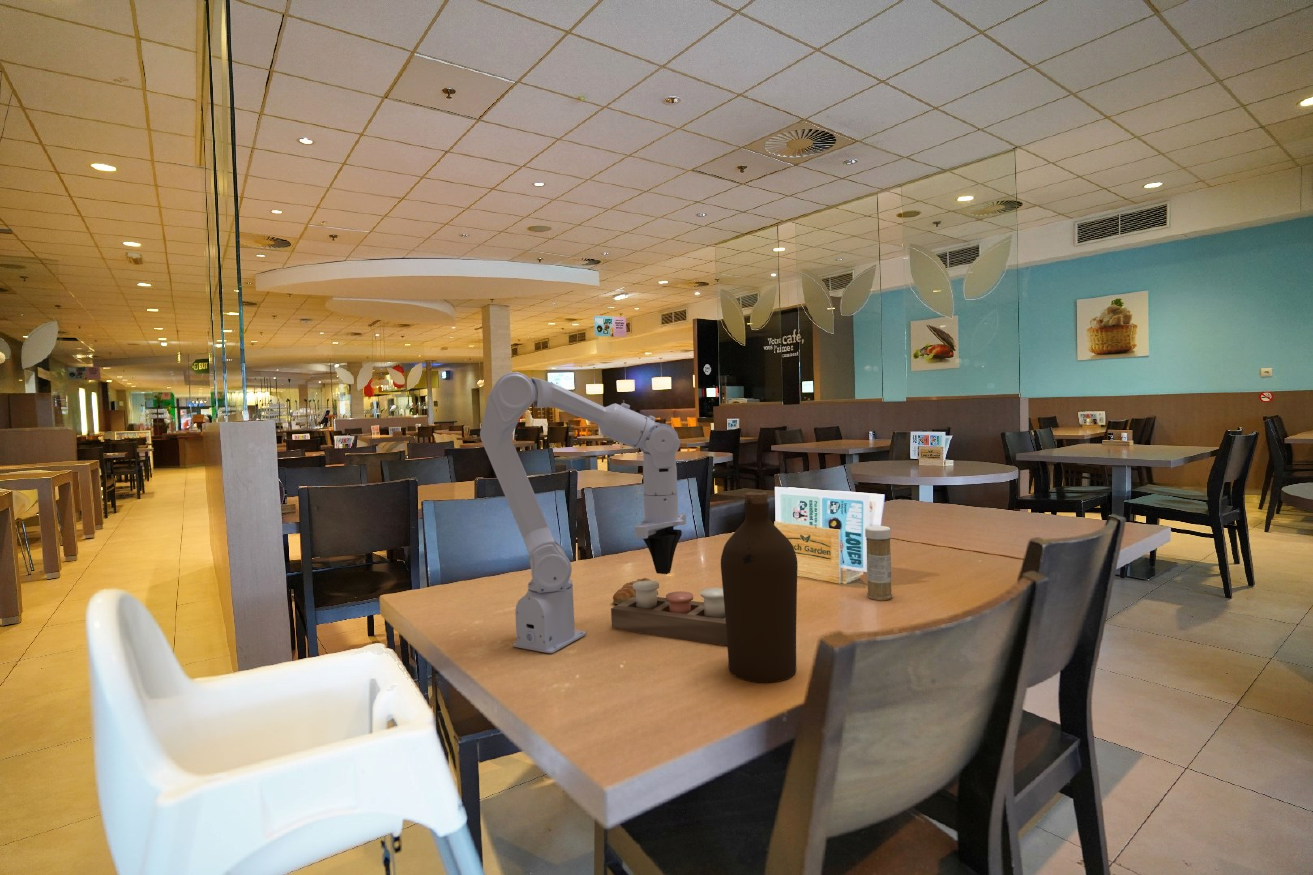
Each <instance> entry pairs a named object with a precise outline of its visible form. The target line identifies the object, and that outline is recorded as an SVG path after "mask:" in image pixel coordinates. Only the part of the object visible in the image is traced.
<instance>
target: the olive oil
mask: <svg viewBox="0 0 1313 875" xmlns="http://www.w3.org/2000/svg"><path fill="white" fill-rule="evenodd" d="M744 498H745V502H744V504H743V505H744V521H743V522H742V523H741V525H740V526H738V528H736V530H735V531H734V533H733V534H732V535H731V536H730V537H729V538H728V539H727V541H726V542H725V544H724V545H723V549H722V553H721V556H720V573H721V582H722V584H721V585H722V588H723V596H724V608H725V620H726V632H727V657H728V658H727V660H728V668H729V669H728V670H729V672H730V673H731V674H732V675H733V676H734V677H736V678H739V679H740V678H741V680H743V679H744V680H743V681H748V682H752V681H754V682H753V683H777V682H782V681H785V680H787V679H790V678H791V677H792V676H795V673H796V672H797V607H798V606H797V605H798V604H797V600H798V598H797V597H798V569H799V568H798V565H799V564H798V557H797V554H796V550H795V548H794V545H793V544H792V542H791V541H790V540H789V538H788V537H786V535H784V533H783V532H782V531H781V530H780V529H779V528H778V527H777V525H775V524H774V523H773V522H772V521H771V518H770V502H768V498H769V492H765V491H747V492H745V493H744Z"/></svg>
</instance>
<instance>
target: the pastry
mask: <svg viewBox="0 0 1313 875" xmlns="http://www.w3.org/2000/svg"><path fill="white" fill-rule="evenodd" d="M639 581H652V580H651V579H650V578H647V577H643V578H637V579H636V580H634V581H633V580H632V581H630V582H626V583H624V584H623V586H622V587H621V588H619V589H618V590H617V591H615V593H614V594H613V595H612V600H613V601H612V602H613V604H617V605H619V604H621V603H622V602H624V601H626V600H628V599H630V598H632V597H634V596H636V590H634V589H633V584H634V583H636V582H639ZM658 595H659V591H658V589H657V596H658Z"/></svg>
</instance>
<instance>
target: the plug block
mask: <svg viewBox="0 0 1313 875" xmlns="http://www.w3.org/2000/svg"><path fill="white" fill-rule="evenodd" d="M690 602H691V612H689V613H688V614H682V613H674V612H670V610H669V601H667V600H666V597H662V596H657V607H656V608H654V609H643V608H637V606H636V596H634V597H632V598H630V599H628V600H626V601H624V602H622V603H621V604H617V605H615V606H612V607H611V608H610V616H611V618H610V619H611V621H610V622H611V629H613V630H617V631H624V632H625V631H627V632H633V633H639V634H646V635H654V636H659V637H666V638H671V639H678V640H679V639H680V640H685V641H686V640H687V641H691V642H692V641H693V642H698V643H699V642H700V643H705V644H711V645H719V646H725V647H726V646H727V632H726V620H725V617H724V618H713V617H705V616H704V601H703V602H701V601H695V600H691V601H690Z"/></svg>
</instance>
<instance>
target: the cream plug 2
mask: <svg viewBox="0 0 1313 875" xmlns="http://www.w3.org/2000/svg"><path fill="white" fill-rule="evenodd" d="M700 597H701V598H703V602H704V616H705V617H713V618H724V617H725V608H724V596H723V587H707V588H704V589H702V590H700Z"/></svg>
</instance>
